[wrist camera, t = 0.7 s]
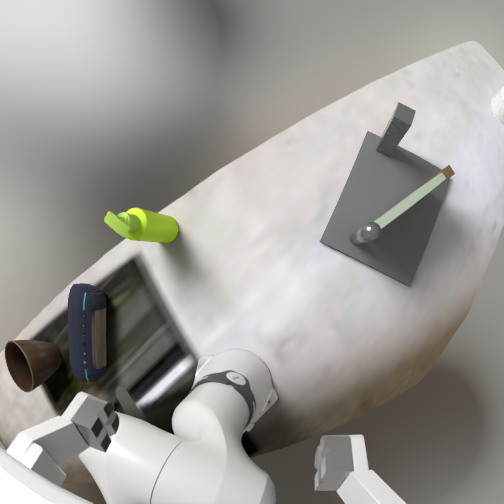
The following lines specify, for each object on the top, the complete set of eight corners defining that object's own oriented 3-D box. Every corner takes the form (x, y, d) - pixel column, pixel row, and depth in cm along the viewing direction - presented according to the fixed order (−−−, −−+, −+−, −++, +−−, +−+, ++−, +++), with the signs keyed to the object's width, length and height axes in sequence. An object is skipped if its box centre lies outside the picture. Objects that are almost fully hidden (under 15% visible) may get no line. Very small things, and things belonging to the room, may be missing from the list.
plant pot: (66, 335, 70) (26, 346, 55) (74, 382, 70) (37, 399, 54) (38, 327, 73) (1, 336, 58) (45, 371, 73) (11, 384, 57)
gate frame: (407, 285, 53) (443, 297, 35) (319, 241, 57) (322, 235, 39) (448, 176, 51) (489, 150, 33) (366, 133, 55) (383, 89, 37)
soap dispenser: (173, 250, 63) (117, 248, 43) (151, 233, 64) (92, 226, 45) (186, 227, 62) (134, 216, 43) (163, 211, 64) (107, 195, 44)
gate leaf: (365, 236, 53) (381, 230, 39) (360, 229, 53) (375, 221, 39) (425, 191, 51) (454, 173, 36) (420, 185, 51) (449, 164, 37)
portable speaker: (114, 378, 67) (91, 391, 57) (87, 367, 69) (64, 377, 59) (115, 286, 66) (88, 290, 57) (87, 279, 68) (60, 282, 59)
